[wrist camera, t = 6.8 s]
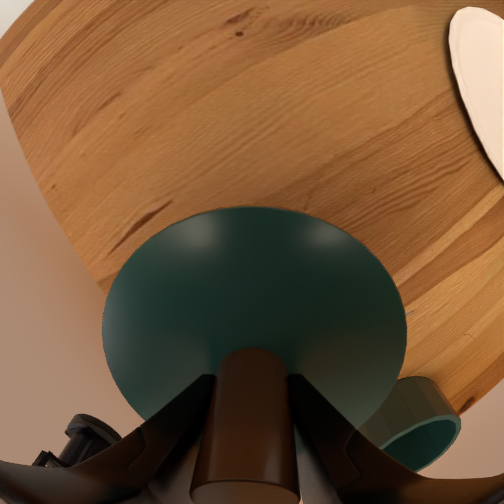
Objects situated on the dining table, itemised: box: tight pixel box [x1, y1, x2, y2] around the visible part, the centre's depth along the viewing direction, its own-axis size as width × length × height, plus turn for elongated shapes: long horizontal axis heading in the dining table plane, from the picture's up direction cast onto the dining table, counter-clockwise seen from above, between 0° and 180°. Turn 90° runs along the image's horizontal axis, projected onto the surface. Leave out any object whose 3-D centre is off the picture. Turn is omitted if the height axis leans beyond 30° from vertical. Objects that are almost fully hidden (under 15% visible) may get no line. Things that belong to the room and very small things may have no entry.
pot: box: [357, 377, 461, 473], centre depth 20 cm, size 10×10×6 cm
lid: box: [102, 205, 407, 504], centre depth 7 cm, size 11×11×6 cm
